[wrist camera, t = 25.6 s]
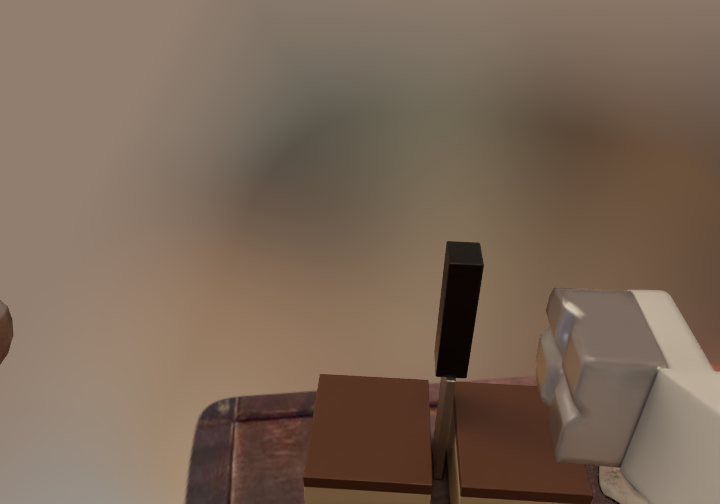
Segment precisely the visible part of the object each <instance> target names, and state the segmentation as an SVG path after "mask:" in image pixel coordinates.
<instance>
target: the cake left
mask: <svg viewBox="0 0 720 504" xmlns="http://www.w3.org/2000/svg"><path fill="white" fill-rule="evenodd" d="M303 478H304V496H305V504H430V500H431V493H432V461H431V435H430V409H429V383H428V380H417V379H400V378H382V377H364V376H363V377H362V376H346V375H327V374H320V377H319V383H318V389H317V396H316V402H315V408H314V414H313V421H312V427H311V433H310V439H309V445H308V452H307V458H306V464H305V470H304V477H303Z"/></svg>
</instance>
